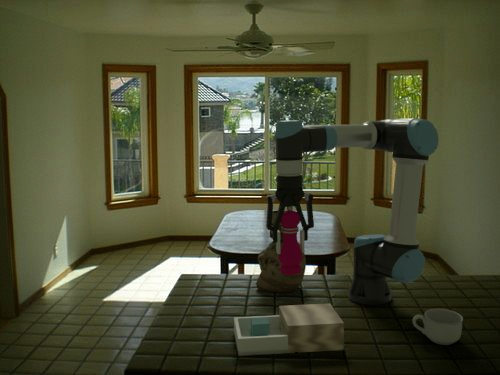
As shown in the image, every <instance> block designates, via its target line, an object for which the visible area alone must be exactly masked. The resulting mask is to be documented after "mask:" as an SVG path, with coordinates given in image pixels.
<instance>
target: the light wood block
mask: <svg viewBox="0 0 500 375" xmlns="http://www.w3.org/2000/svg"><path fill="white" fill-rule="evenodd" d="M278 315H279V316H280V331H281V333H282V335H288V353H287V354H293V353H294V354H296V353H295V352H298V353H311V352H328V351H329V352H330V351H331V352H332V351H344V345H345V343H344V340H345V338H344V337H345V334H344V333H345V329H344V328H345V322H344V321H343V320H342V318H341V317H340V315H339V314H338V312H336V310H335V309H334V307H333V305H332V304H331V302H329V303H315V304H314V303H311V304H309V303H308V304H293V305H290V304H289V305H279V306H278Z"/></svg>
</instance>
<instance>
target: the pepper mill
mask: <svg viewBox="0 0 500 375" xmlns="http://www.w3.org/2000/svg"><path fill="white" fill-rule="evenodd" d="M293 209H294V207H293V206H289V207H286V210H287V211H284V212H283V215H282V218H281V221H280V223H281V224H282V226H283V227H282V232H283V244H282V246H281V249H280V254H279V255H278V260H279V261H280V263H281V264H282V265H280V272H281V273H282V274H287V275H295V274H299V273H301V265H299V264H300V263H301V261H302V260H303V255H302V251H301V249H300V247H299V245H298V232H300V227H299V226H298V225H299V224H301V222H300V216H299V214H298V213H297V211H296V210H293Z"/></svg>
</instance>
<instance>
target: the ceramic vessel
mask: <svg viewBox="0 0 500 375" xmlns="http://www.w3.org/2000/svg"><path fill="white" fill-rule="evenodd" d="M284 211H287V209H285V210H284ZM277 212H278V209H277V210H273V214H272V226H273V224H274V221H275V218H276V215H277ZM282 227H283V226H282V224H281V223H280V224H279V228H278V230H279V231H280V249H281V246H282V244H283V232H282ZM269 238H271V239H272V241H271V242H270V243H269V244H268V245H267V247H266V248H265V249H263V250H262V251H261V252H259V254H258V256H257V261H258V265H259V269H260V273H259V275H258V277H257V280H256V282H255V286H256V288H257V290H259V291H260V292H265V293H266V292H267V293H274V294H275V293H276V294H288V293H292V292H295V291H297V290H298V289H299V287H301V284H302V283H303V279H304V277H305V273H306V267H307V266H306V263H307V262H306V255H305V253H302V255H303V260H302V261H301V263H300V264H299V265H301V273H299V274H295V275H287V274H282V273H281V272H280V265H282V264H281V263H280V261H279V260H278V255H279V254H278V253H277V252H276V242H274V241H273V231H271V230H269ZM297 242H298V241H297ZM298 245H299V247H300V241H299V242H298Z"/></svg>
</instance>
